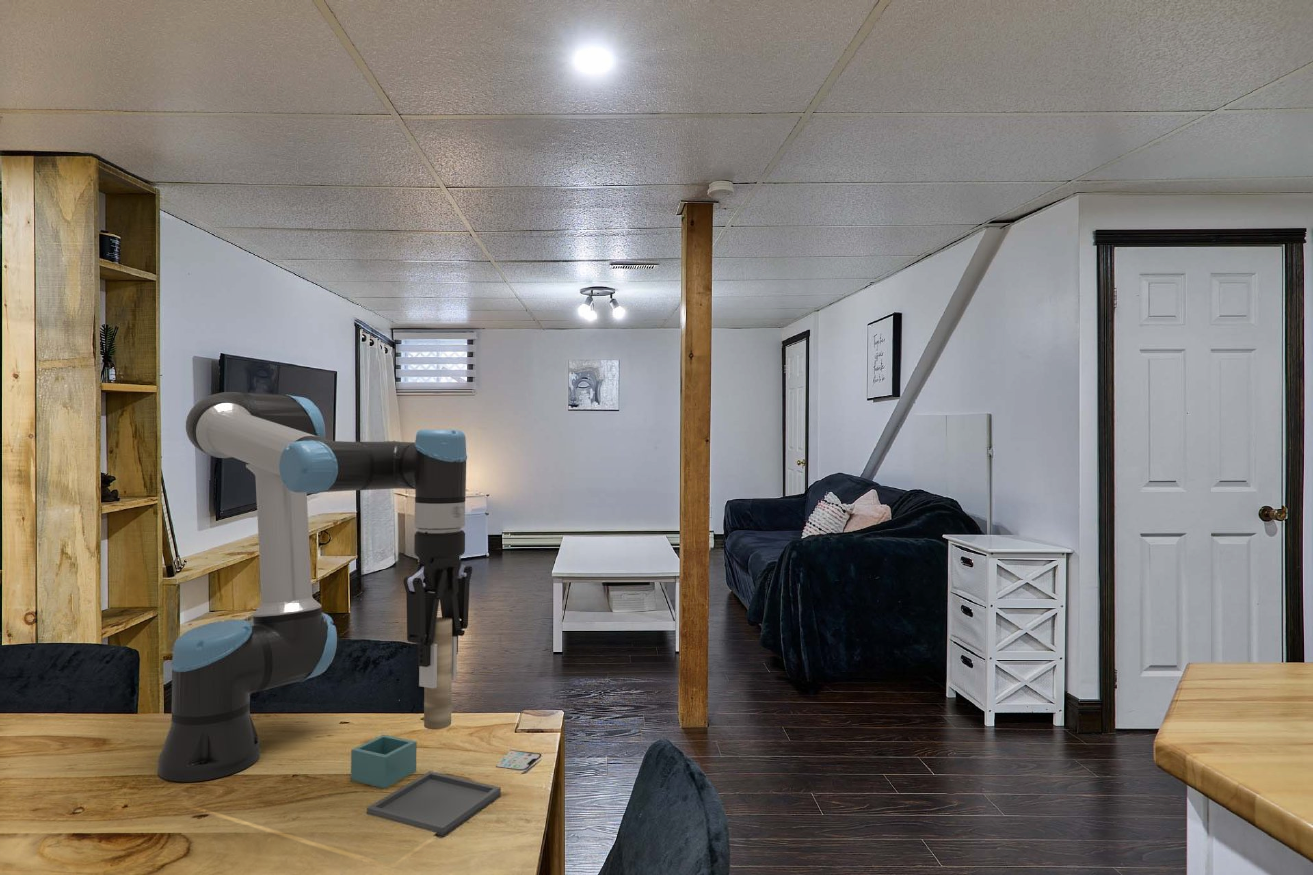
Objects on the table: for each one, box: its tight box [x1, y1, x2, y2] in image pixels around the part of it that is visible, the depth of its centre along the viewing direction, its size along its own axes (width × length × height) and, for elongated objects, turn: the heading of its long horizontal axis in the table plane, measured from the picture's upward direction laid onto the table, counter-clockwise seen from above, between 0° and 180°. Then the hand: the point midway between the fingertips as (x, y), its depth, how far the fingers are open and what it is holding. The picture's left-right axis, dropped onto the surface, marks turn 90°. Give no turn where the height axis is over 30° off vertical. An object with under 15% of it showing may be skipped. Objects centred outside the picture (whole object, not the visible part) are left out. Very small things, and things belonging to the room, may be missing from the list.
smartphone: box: [495, 749, 542, 775], centre depth 134 cm, size 7×1×15 cm
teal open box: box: [350, 734, 418, 789], centre depth 126 cm, size 7×7×6 cm
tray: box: [366, 770, 502, 839], centre depth 117 cm, size 14×14×1 cm
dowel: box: [423, 616, 453, 730], centre depth 117 cm, size 4×4×16 cm
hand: (438, 682), depth 117 cm, fingers closed on dowel, 4 cm apart
